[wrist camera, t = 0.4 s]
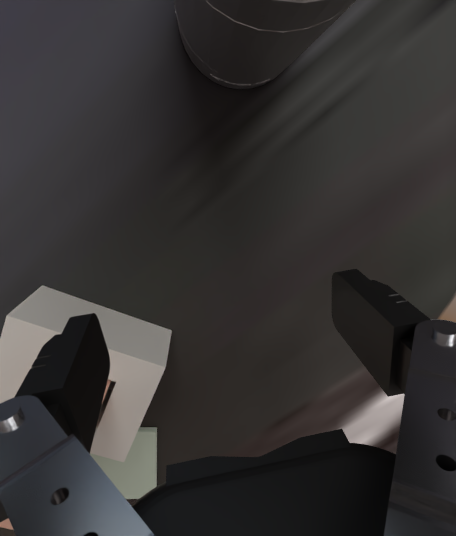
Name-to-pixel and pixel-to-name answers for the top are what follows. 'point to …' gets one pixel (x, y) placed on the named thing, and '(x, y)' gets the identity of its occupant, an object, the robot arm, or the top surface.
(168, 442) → the top surface
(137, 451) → the mat
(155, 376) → the white square socket block
